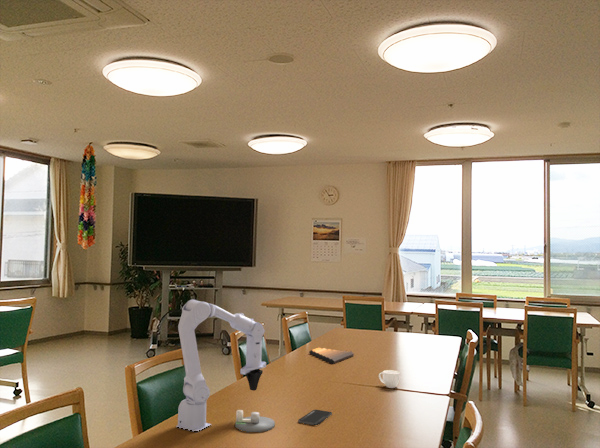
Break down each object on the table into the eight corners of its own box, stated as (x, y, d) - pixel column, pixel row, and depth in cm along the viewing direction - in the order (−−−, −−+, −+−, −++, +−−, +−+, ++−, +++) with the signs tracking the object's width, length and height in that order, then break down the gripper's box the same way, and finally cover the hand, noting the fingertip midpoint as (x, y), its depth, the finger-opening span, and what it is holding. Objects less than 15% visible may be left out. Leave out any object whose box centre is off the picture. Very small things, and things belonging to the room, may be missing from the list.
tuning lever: (259, 420, 180) (259, 410, 180) (258, 423, 177) (258, 412, 177) (236, 420, 180) (237, 409, 180) (235, 422, 177) (235, 412, 177)
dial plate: (227, 428, 176) (227, 424, 176) (249, 416, 188) (249, 413, 188) (260, 435, 169) (260, 432, 169) (282, 423, 181) (282, 420, 181)
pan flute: (334, 365, 277) (353, 357, 298) (334, 359, 277) (353, 351, 298) (295, 359, 290) (317, 352, 311) (295, 353, 290) (317, 346, 311)
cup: (395, 390, 226) (395, 374, 227) (375, 386, 232) (375, 371, 233) (402, 386, 233) (402, 371, 233) (382, 382, 239) (382, 368, 239)
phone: (297, 420, 182) (314, 409, 195) (297, 423, 182) (314, 412, 195) (316, 424, 179) (333, 412, 192) (316, 427, 178) (333, 415, 192)
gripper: (251, 358, 183) (251, 396, 182) (272, 351, 195) (272, 386, 195) (236, 356, 186) (235, 393, 185) (257, 349, 199) (257, 384, 198)
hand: (253, 389), depth 190 cm, fingers closed
